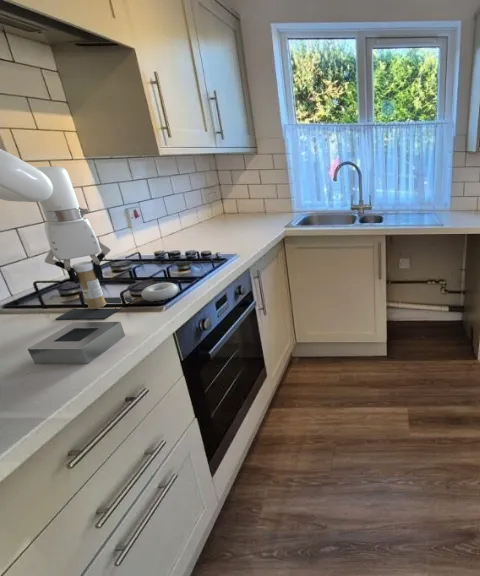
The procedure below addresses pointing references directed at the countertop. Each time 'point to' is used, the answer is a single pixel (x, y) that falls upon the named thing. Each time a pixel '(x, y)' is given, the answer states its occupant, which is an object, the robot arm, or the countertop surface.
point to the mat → (92, 311)
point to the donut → (159, 292)
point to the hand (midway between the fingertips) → (87, 278)
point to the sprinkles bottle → (89, 284)
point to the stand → (77, 343)
